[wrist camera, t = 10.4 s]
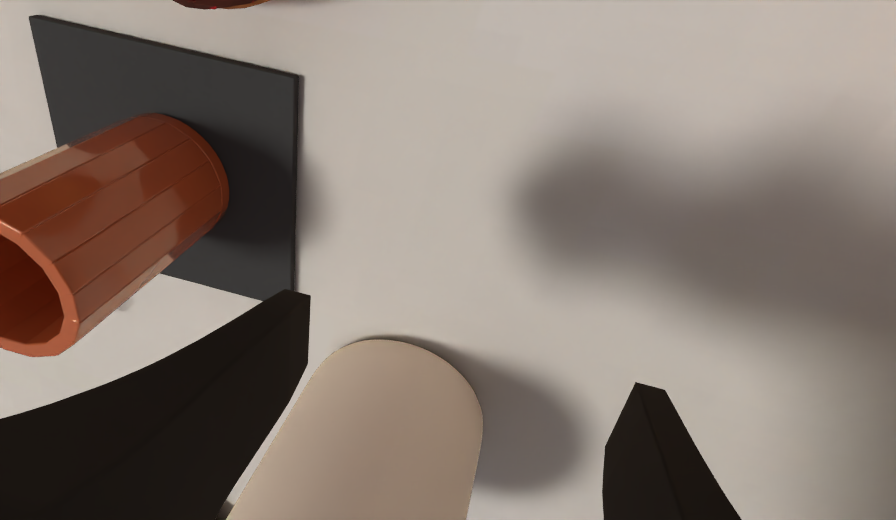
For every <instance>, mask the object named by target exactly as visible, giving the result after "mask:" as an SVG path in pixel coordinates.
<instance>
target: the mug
mask: <svg viewBox="0 0 896 520" xmlns="http://www.w3.org/2000/svg"><path fill="white" fill-rule="evenodd" d="M482 434H483V417H482V411H481V407H480V404H479V402H478V399H477V397H476V395H475V393H474V391H473V389H472V387H471V386H470V385H469V383H468V382H467V380H466V379H465V378H464V377H463V376H462V375H461V374H460V373H459V372H458V371H457V370H456V369H455V368H454V367H453V366H452V365H450V364H449V363H448V362H446V361H445V360H443V359H442V358H440V357H439V356H437V355H435V354H433V353H432V352H430V351H428V350H425V349H423V348H421V347H418V346H415V345H412V344H409V343H404V342H399V341H392V340H366V341H360V342H356V343H353V344H350V345H347V346H345V347H343V348H341V349H339V350H337V351H336V352H334V353H332V354H331V355H330V356H329V357H328V358H326V359H325V361H324V362H323V363H322V364H321V365H320V366H319V367H318V369H317V370H316V371H315V373H314V374H313V375H312V377H311V379H310V380H309V382H308V383H307V385H306V387H305V388H304V390H303V392H302V393H301V395H300V397H299V398H298V400H297V402H296V403H295V405H294V407H293V408H292V410H291V412H290V413H289V415H288V417H287V418H286V420H285V422H284V423H283V425H282V427H281V428H280V430H279V432H278V433H277V435H276V437H275V438H274V440H273V442H272V443H271V445H270V447H269V448H268V450H267V452H266V453H265V455H264V457H263V459H262V460H261V462H260V464H259V465H258V467H257V469H256V470H255V472H254V474H253V475H252V477H251V479H250V480H249V482H248V484H247V485H246V487H245V489H244V490H243V492H242V494H241V495H240V497H239V499H238V500H237V502H236V504H235V505H234V507H233V509H232V510H231V512H230V514H229V515H228V517H227V519H226V520H466V517H467V512H468V507H469V502H470V497H471V492H472V488H473V483H474V478H475V473H476V468H477V463H478V458H479V453H480V447H481V442H482Z"/></svg>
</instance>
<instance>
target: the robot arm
mask: <svg viewBox="0 0 896 520" xmlns="http://www.w3.org/2000/svg"><path fill="white" fill-rule="evenodd" d="M310 298H311V296H310V295H306V294H302V293H299V292H295V291H291V290H287V289H284V290H282V291H280V292H278V293H277V294H275V295H273V296H272V297H270V298H268V299H267V300H265V301H263V302H262V303H260V304H258V305H257V306H255V307H254V308H252V309H250V310H249V311H247V312H245V313H244V314H242V315H240V316H239V317H237V318H236V319H234V320H232V321H231V322H229V323H227V324H225V325H224V326H222V327H220V328H219V329H217V330H215V331H213V332H212V333H210V334H208V335H207V336H205V337H203V338H201V339H199V340H198V341H196V342H194V343H192V344H190V345H188V346H186V347H184V348H183V349H181V350H179V351H177V352H175V353H173V354H171V355H169V356H167V357H165V358H163V359H161V360H159V361H157V362H155V363H153V364H151V365H149V366H146V367H144V368H142V369H140V370H138V371H135V372H133V373H131V374H128V375H126V376H124V377H121V378H119V379H117V380H114V381H112V382H109V383H107V384H104V385H102V386H99V387H96V388H93V389H91V390H88V391H85V392H82V393H80V394H77V395H74V396H71V397H69V398H66V399H63V400H60V401H57V402H55V403H52V404H49V405H46V406H42V407H39V408H36V409H33V410H29V411H26V412H23V413H20V414H16V415H13V416H9V417H6V418H2V419H0V520H215V519H216V517H217V515H218V513H219V511H220V509H221V507H222V505H223V504H224V502H225V500H226V499H227V497H228V495H229V494H230V492H231V490H232V489H233V487H234V485H235V484H236V482H237V481H238V479H239V478H240V476H241V475H242V473H243V472H244V470H245V469H246V467H247V466H248V464H249V463H250V461H251V460H252V458H253V457H254V455H255V454H256V452H257V451H258V449H259V448H260V446H261V445H262V443H263V442H264V440H265V439H266V437H267V436H268V434H269V433H270V431H271V429H272V428H273V426H274V425H275V423H276V422H277V420H278V419H279V417H280V416H281V414H282V413H283V411H284V409H285V408H286V406H287V405H288V403H289V401H290V399H291V397H292V395H293V393H294V391H295V389H296V387H297V385H298V383H299V381H300V379H301V377H302V375H303V373H304V371H305V369H306V366H307V364H308V346H309V322H310ZM602 494H603V512H604V520H741V518H740V517H739V515H738V514H737V512H736V511H735V509H734V508H733V506H732V505H731V503H730V502H729V500H728V499H727V497H726V496H725V494H724V492H723V491H722V489H721V488H720V486H719V484H718V483H717V481H716V479H715V478H714V476H713V474H712V473H711V471H710V469H709V468H708V466H707V464H706V463H705V461H704V459H703V458H702V456H701V454H700V452H699V451H698V449H697V447H696V445H695V444H694V442H693V440H692V438H691V436H690V435H689V433H688V431H687V429H686V427H685V426H684V424H683V422H682V420H681V418H680V416H679V415H678V413H677V411H676V409H675V407H674V405H673V404H672V402H671V400H670V398H669V397H668V395H667V393H666V391H665V390H663V389H659V388H655V387H652V386H648V385H644V384H640V383H637V382H636V383H635V385H634V387H633V389H632V391H631V393H630V395H629V397H628V400H627V402H626V404H625V406H624V408H623V410H622V412H621V414H620V416H619V418H618V421H617V423H616V425H615V427H614V429H613V431H612V433H611V435H610V437H609V439H608V442H607V444H606V446H605V457H604V470H603V490H602Z"/></svg>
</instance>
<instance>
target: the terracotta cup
mask: <svg viewBox="0 0 896 520" xmlns="http://www.w3.org/2000/svg"><path fill="white" fill-rule="evenodd" d="M228 203H229V182H228V178H227V175H226V172H225V169H224V167H223V165H222V162H221V160H220V159H219V157H218V155H217V154H216V152H215V151H214V149H213V148H212V147H211V146H210V144H209V143H208V142H207V141H206V140H205V139H204V138H203V137H202V136H201V135H200V134H199V133H198V132H196V131H195V130H194V129H192V128H191V127H190V126H188V125H187V124H185V123H183V122H181V121H179V120H177V119H175V118H173V117H170V116H166V115H163V114H157V113H142V114H137V115H134V116H131V117H129V118H127V119H124V120H119V121H117V122H115V123H113V124H110V125H108V126H106V127H104V128H101V129H99V130H97V131H95V132H92V133H90V134H88V135H86V136H83V137H81V138H79V139H77V140H74V141H72V142H70V143H68V144H65V145H63V146H61V147H59V148H56V149H54V150H52V151H50V152H47V153H45V154H43V155H41V156H38V157H36V158H34V159H31V160H29V161H27V162H25V163H22V164H20V165H18V166H16V167H13V168H11V169H9V170H7V171H4V172H2V173H0V348H3V349H5V350H9V351H12V352H15V353H19V354H22V355H26V356H29V357H31V356H32V357H43V356H56V355H59V354H61V353H62V352H64V351H65V350H67V349H68V348H70V347H71V346H73V345H74V344H75V343H77V342H78V341H79V340H80V339H81V338H82V337H84V336H85V335H86V334H87V333H88V332H90V331H91V330H92V329H93V328H94V327H96V326H97V325H98V324H99V323H100V322H102V321H103V320H104V319H105V318H106V317H107V316H109V315H110V314H111V313H112V312H113V311H115V310H116V309H117V308H118V307H119V306H121V305H122V304H123V303H124V302H125V301H127V300H128V299H129V298H130V297H131V296H132V295H134V294H135V293H136V292H137V291H138V290H140V289H141V288H142V287H143V286H144V285H146V284H147V283H148V282H149V281H150V280H152V279H153V278H154V277H155V276H156V275H157V274H159V273H160V272H161V271H162V270H163V269H165V268H166V267H167V266H168V265H169V264H171V263H172V262H173V261H174V260H175V259H177V258H178V257H179V256H180V255H181V254H182V253H184V252H185V251H186V250H187V249H188V248H190V247H191V246H192V245H193V244H194V243H196V242H197V241H198V240H199V239H200V238H201V237H203V236H204V235H205V234H206V233H207V232H209V231H210V230H211V229H212V228H213V227H214V226H215V225H216V224H217V223H218V222H219V221H220V220H221V219H222V218H223V216H224V214H225V212H226V210H227V207H228Z"/></svg>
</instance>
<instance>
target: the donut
mask: <svg viewBox="0 0 896 520" xmlns="http://www.w3.org/2000/svg"><path fill="white" fill-rule="evenodd" d="M173 1H175V2H177V3H179V4H181V5H183V6H185V7H189V8H197V9H216V8H224V9H235V8H247V7H250V6H254V5H258V4H261V3H264V2H267V1H270V0H173Z"/></svg>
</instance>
